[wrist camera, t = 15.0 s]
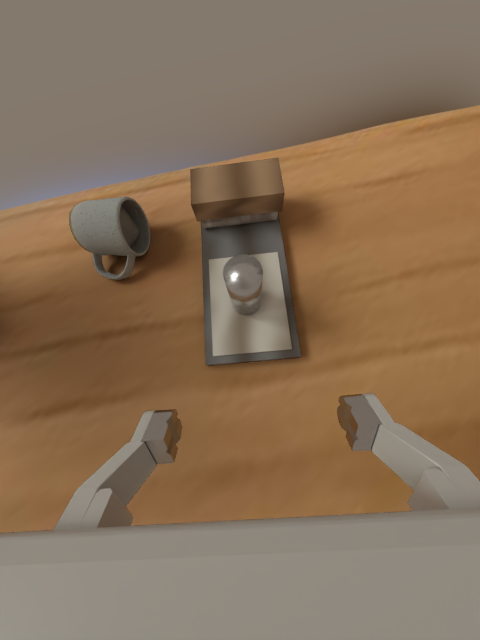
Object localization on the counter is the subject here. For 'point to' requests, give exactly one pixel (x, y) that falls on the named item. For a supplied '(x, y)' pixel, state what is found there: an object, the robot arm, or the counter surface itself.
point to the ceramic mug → (111, 231)
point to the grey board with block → (250, 239)
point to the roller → (244, 283)
